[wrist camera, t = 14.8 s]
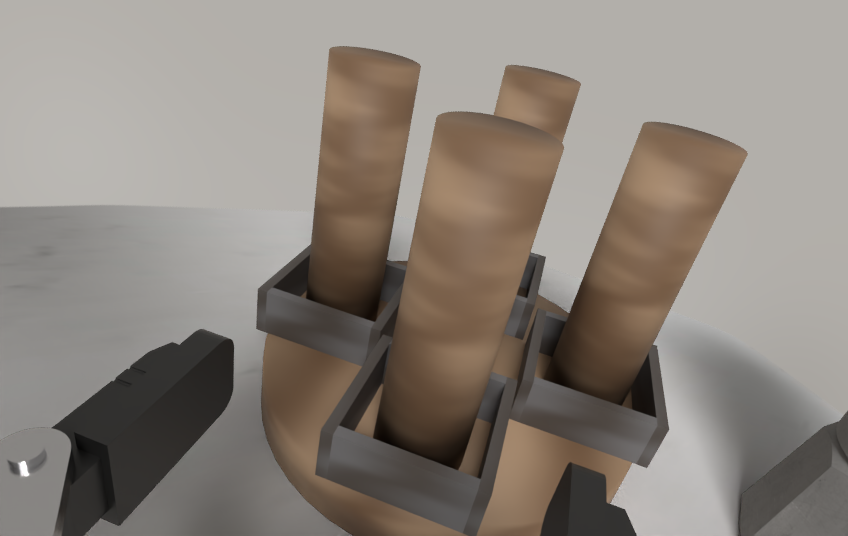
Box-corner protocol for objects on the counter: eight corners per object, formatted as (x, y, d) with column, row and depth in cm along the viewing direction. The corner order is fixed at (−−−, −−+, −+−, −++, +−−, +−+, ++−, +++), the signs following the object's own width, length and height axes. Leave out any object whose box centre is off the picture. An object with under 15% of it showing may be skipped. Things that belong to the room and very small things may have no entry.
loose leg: (357, 463, 22) (419, 128, 15) (390, 400, 26) (453, 104, 19) (450, 499, 22) (559, 167, 15) (471, 430, 25) (567, 134, 18)
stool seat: (169, 464, 24) (141, 65, 16) (352, 267, 41) (385, 28, 33) (628, 654, 21) (905, 276, 12) (617, 353, 38) (730, 111, 30)
